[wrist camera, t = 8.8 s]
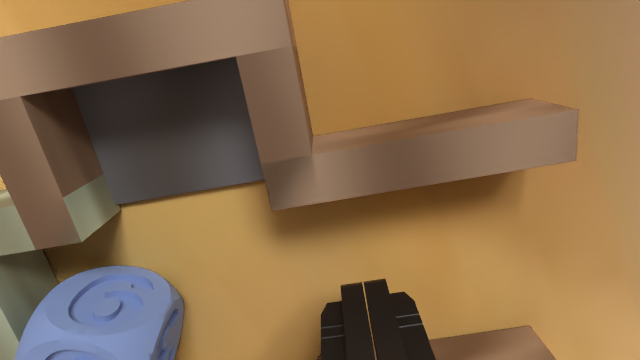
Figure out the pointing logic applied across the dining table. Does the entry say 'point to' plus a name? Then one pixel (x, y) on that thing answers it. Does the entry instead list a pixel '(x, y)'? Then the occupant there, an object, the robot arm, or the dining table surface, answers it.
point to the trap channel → (215, 138)
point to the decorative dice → (106, 318)
